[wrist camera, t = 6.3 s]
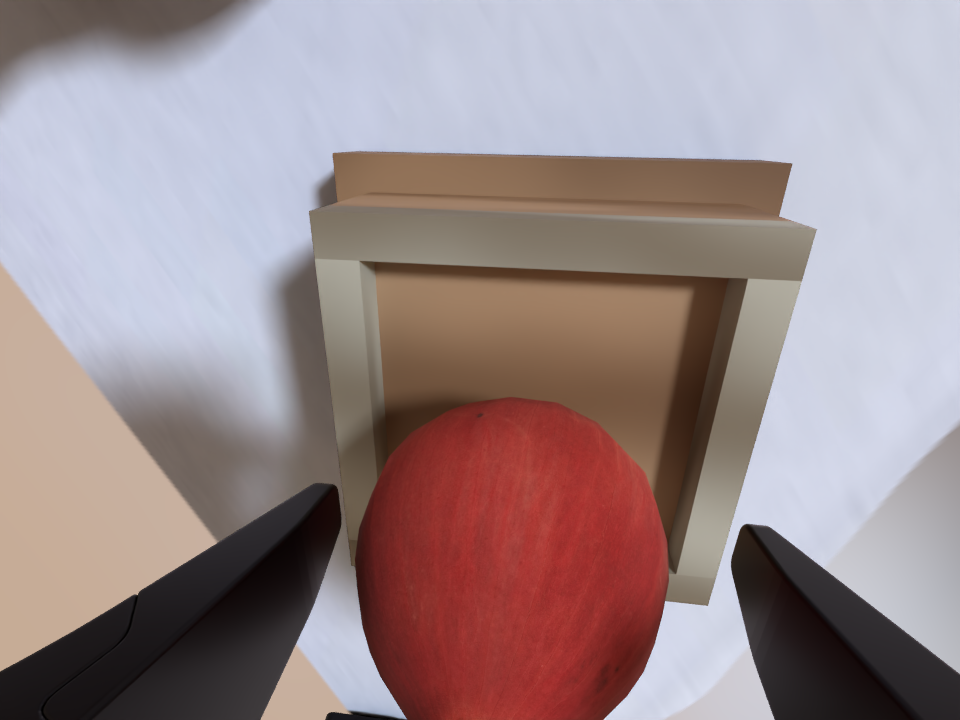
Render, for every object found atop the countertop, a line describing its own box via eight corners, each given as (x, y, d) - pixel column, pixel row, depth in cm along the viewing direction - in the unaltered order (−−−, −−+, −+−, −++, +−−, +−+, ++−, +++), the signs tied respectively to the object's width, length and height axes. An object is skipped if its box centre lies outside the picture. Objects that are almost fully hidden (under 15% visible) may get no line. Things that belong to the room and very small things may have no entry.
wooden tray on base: (683, 494, 19) (737, 635, 14) (382, 467, 20) (322, 586, 15) (761, 160, 14) (892, 174, 9) (357, 151, 16) (255, 158, 10)
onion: (624, 522, 14) (653, 955, 7) (426, 490, 15) (289, 850, 8) (670, 343, 11) (797, 809, 4) (417, 315, 12) (183, 664, 5)
